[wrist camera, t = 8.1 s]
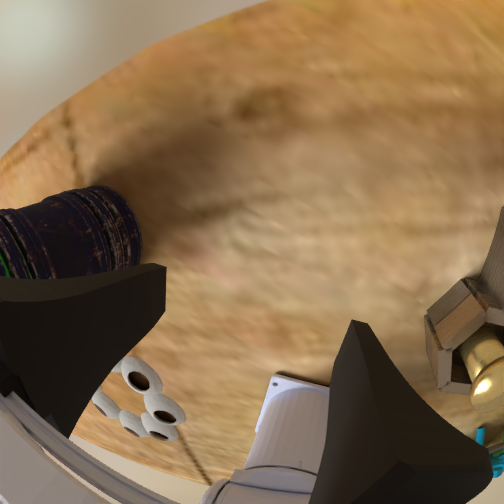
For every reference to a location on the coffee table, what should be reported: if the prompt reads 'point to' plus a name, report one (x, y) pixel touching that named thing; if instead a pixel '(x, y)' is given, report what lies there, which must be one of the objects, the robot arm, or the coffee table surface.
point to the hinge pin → (484, 368)
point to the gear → (493, 453)
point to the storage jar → (70, 236)
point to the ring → (152, 403)
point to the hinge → (466, 318)
